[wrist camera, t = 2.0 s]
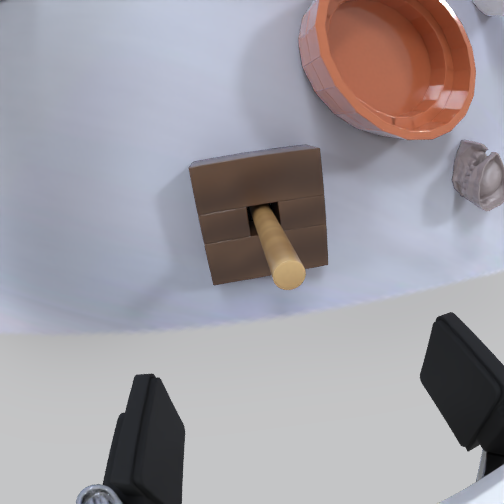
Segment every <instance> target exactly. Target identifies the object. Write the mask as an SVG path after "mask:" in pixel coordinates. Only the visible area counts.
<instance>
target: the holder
mask: <svg viewBox="0 0 504 504" xmlns="http://www.w3.org/2000/svg"><path fill="white" fill-rule="evenodd" d="M189 172H190V178H191V183H192V188H193V193H194V198H195V203H196V208H197V213H198V215H199V216H198V217H199V222H200V227H201V231H202V236H203V241H204V245H205V250H206V254H207V259H208V263H209V268H210V272H211V277H212V281H213V285H218V284H224V283H230V282H236V281H242V280H247V279H253V278H259V277H264V276H270V275H271V272H270V269H269V266H268V263H267V260H266V257H265V254H264V251H263V248H262V245H261V242H260V239H259V236H258V233H257V230H256V227H255V224H254V221H251V222H249V220H248V214H247V207H248V206H254V205H260V204H266V203H272V207H273V213H274V215H275V217H276V219H277V220H278V222H279V224H280V225H281V227H282V229H283V231H284V232H285V234H286V236H287V238H288V239H289V241H290V243H291V245H292V246H293V248H294V250H295V252H296V254H297V255H298V257H299V259H300V261H301V262H302V264H303V266H304V268H305V269H308V268H314V267H319V266H324V265H328V248H327V229H326V214H325V200H324V187H323V176H322V165H321V155H320V148H317V147H313V146H310V145H298V146H290V147H282V148H274V149H267V150H260V151H253V152H246V153H240V154H234V155H228V156H222V157H216V158H211V159H205V160H200V161H195V162H193V163H192V164H191V166H190V167H189Z"/></svg>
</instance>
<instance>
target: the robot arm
mask: <svg viewBox="0 0 504 504" xmlns="http://www.w3.org/2000/svg"><path fill="white" fill-rule="evenodd" d="M420 379H421V382H422V384H423V386H424V387H425V389H426V390H427V392H428V393H429V395H430V396H431V398H432V400H433V401H434V403H435V404H436V406H437V407H438V409H439V411H440V412H441V414H442V415H443V417H444V419H445V420H446V422H447V423H448V425H449V427H450V428H451V430H452V432H453V433H454V435H455V437H456V438H457V440H458V442H459V443H460V445H461V446H463V447H466V449H467V451H470V450H472V449H473V448H475V447H477V446H479V444H480V445H481V447H482V448H483V450H482V456H481V461H480V466H479V470H478V475H477V479H476V482H475V483H474V484H472V485H470V486H469V487H467V488H465V489H464V490H462V491H460V492H459V493H457V494H455V495H453V496H451V497H449V498H447V499H445V500H444V501H442V502H439V503H438V504H504V365H503V364H502V363H501V362H500V361H499V360H498V359H497V358H496V356H495V355H494V354H493V353H492V352H491V351H490V350H489V349H488V348H487V347H486V346H485V345H484V344H483V343H482V342H481V340H480V339H479V338H478V337H477V336H476V335H475V334H474V333H473V332H472V331H471V330H470V329H469V328H468V327H467V326H466V325H465V324H464V323H463V322H462V321H461V320H460V319H459V318H458V317H457V316H456V315H455V314H454V313H451V312H450V313H447V314H444V315H442V316H439V317H437V319H436V322H434V323H433V327H432V331H431V335H430V339H429V343H428V347H427V351H426V355H425V359H424V363H423V366H422V369H421V373H420ZM184 442H185V429H184V425H183V422H182V421H181V419H180V417H179V415H178V413H177V411H176V409H175V407H174V405H173V403H172V402H171V399H170V397H169V395H168V393H167V391H166V389H165V387H164V385H163V383H162V381H161V379H160V378H156V377H155V375H154V374H141V375H136V376H135V377H134V380H133V385H132V388H131V392H130V395H129V399H128V404H127V407H126V411H125V413H121V414H120V415H119V418H118V420H117V424H116V428H115V432H114V436H113V441H112V445H111V449H110V454H109V458H108V462H107V467H106V471H105V476H104V481H103V485H100V484H97V485H91V486H88V487H86V488H85V489H83V490H82V491H81V492H80V494H79V495H78V497H77V500H76V504H182V481H183V480H182V479H183V459H184Z"/></svg>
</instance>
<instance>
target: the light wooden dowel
mask: <svg viewBox="0 0 504 504" xmlns="http://www.w3.org/2000/svg"><path fill="white" fill-rule="evenodd" d="M249 209H250V212H251V215H252V218H253V221H254V224H255V227H256V230H257V233H258V236H259V239H260V242H261V245H262V248H263V251H264V254H265V257H266V260H267V263H268V266H269V269H270V272H271V275H272V278H273V281H274V283H275V284H276V286H278V287H279V288H281V289H284V290H291V289H295V288H297V287H298V286H300V285H301V284H302V282H303V281H304V279H305V275H306V272H305V268H304V266H303V264H302V262H301V261H300V259H299V257H298V255H297V254H296V252H295V250H294V248H293V246H292V245H291V243H290V241H289V239H288V238H287V236H286V234H285V232H284V231H283V229H282V227H281V225H280V224H279V222H278V220H277V219H276V217H275V215H274V213H273V212H272V210H271V208H270V206H269V205H268V203H266V204H260V205H254V206H249Z"/></svg>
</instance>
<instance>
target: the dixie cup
mask: <svg viewBox="0 0 504 504" xmlns="http://www.w3.org/2000/svg"><path fill="white" fill-rule="evenodd" d="M472 1H473V2H474V4H475V5H476V6H477V8H478V9H479V10H480V11H481V12H482V13H484V14H485V15H487V16H504V0H472Z"/></svg>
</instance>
